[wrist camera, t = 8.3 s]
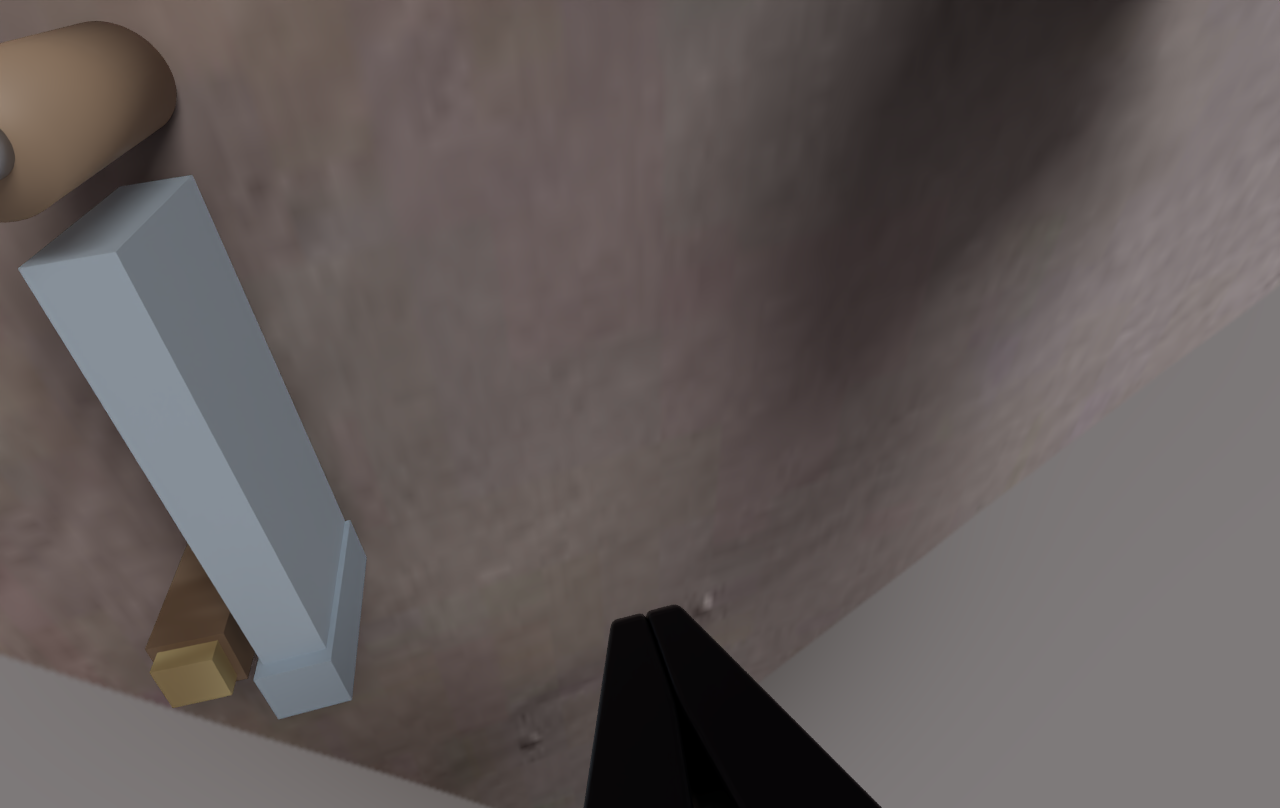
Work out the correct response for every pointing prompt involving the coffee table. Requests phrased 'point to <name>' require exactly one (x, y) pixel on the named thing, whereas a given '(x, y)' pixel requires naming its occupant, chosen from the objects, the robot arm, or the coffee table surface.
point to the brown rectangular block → (196, 640)
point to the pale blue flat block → (180, 355)
